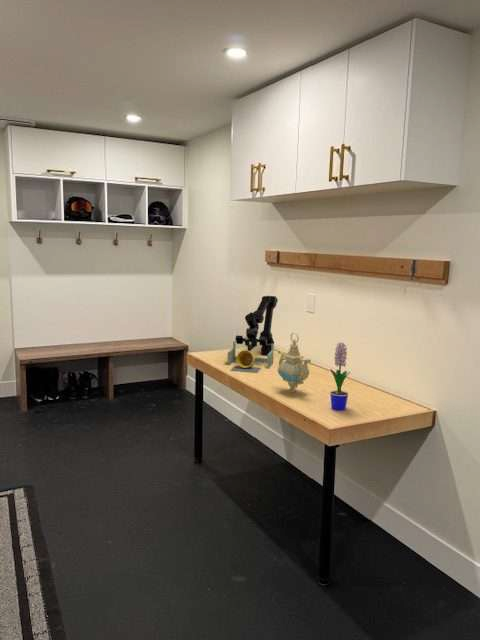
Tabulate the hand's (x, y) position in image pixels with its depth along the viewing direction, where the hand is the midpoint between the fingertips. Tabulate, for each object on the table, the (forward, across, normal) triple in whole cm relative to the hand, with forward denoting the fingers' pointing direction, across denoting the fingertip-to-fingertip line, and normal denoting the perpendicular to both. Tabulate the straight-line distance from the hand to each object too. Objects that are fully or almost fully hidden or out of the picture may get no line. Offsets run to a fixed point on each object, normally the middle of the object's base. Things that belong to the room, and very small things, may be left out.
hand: (248, 352), depth 296 cm
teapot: (+38, +32, -26) cm, 56 cm away
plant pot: (+2, 0, +5) cm, 6 cm away
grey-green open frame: (+2, 0, +10) cm, 11 cm away
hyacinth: (+52, +55, -40) cm, 86 cm away
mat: (+12, 0, +1) cm, 12 cm away
